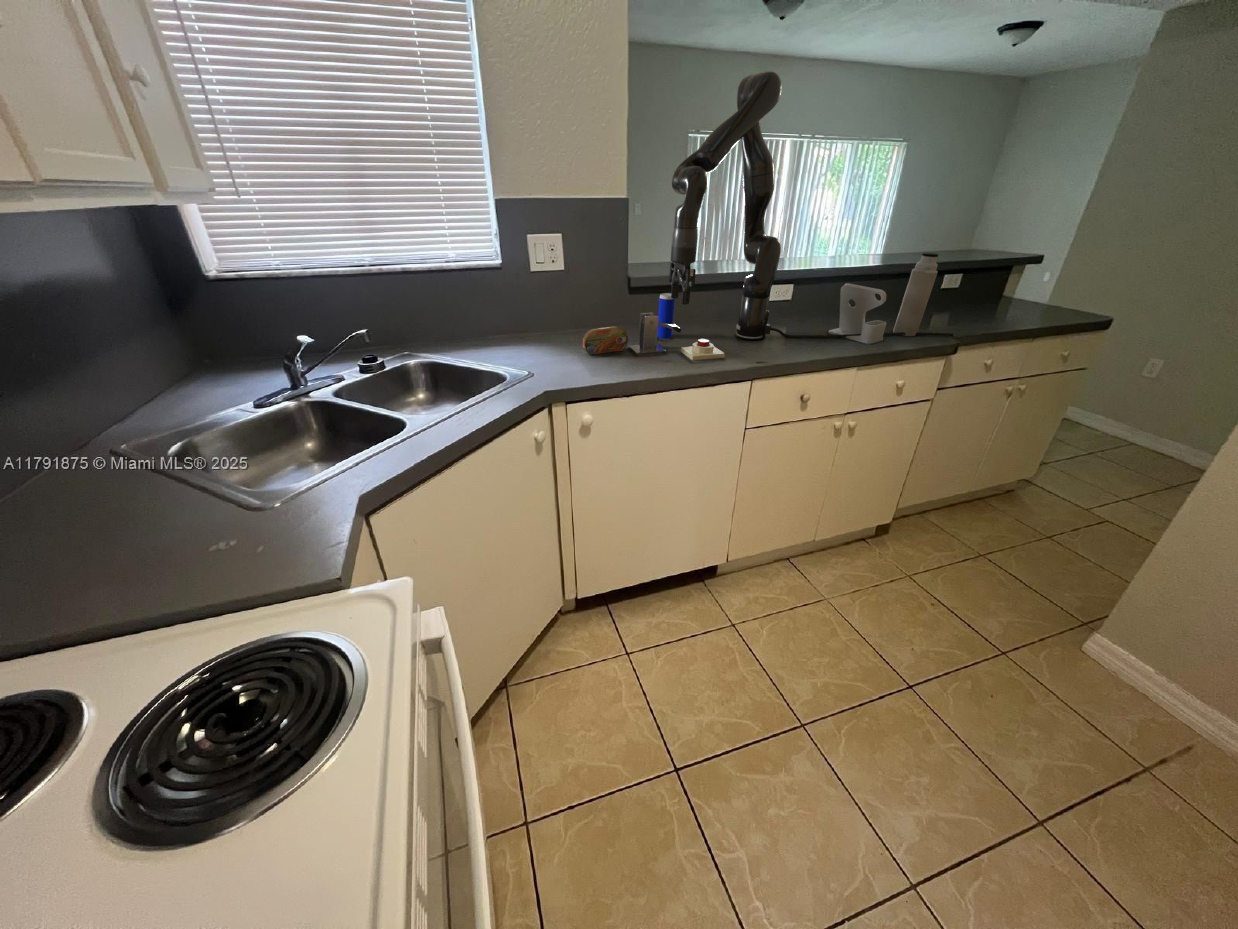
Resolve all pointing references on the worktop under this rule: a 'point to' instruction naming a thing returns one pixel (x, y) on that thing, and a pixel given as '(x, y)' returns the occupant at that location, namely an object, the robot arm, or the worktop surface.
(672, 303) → the beverage can
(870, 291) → the phone holder
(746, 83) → the robot arm
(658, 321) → the press lever
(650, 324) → the press bracket
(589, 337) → the tin
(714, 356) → the button block
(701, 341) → the button
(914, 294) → the thermos bottle
